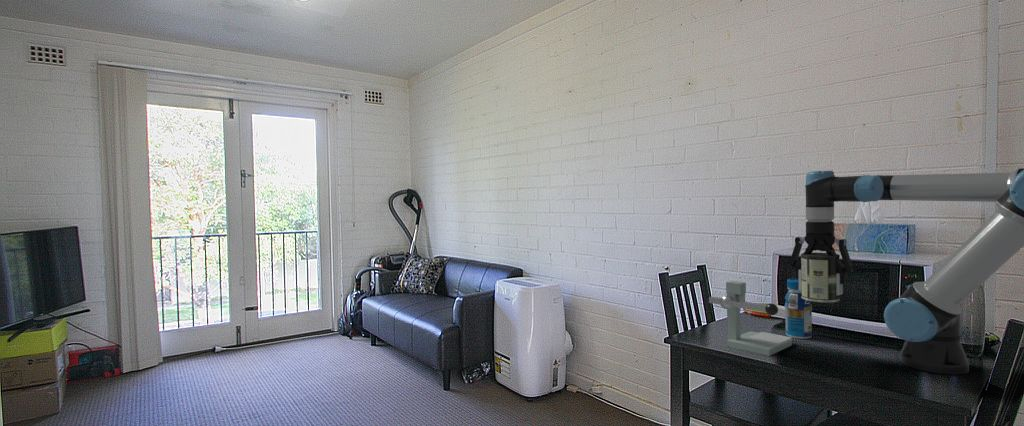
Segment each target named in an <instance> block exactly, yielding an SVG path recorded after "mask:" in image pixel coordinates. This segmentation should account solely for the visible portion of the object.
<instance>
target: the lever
mask: <svg viewBox="0 0 1024 426" xmlns="http://www.w3.org/2000/svg"><path fill="white" fill-rule="evenodd" d="M708 303H709V304H715V305H720V307H722V308H721V309H724V310H727V309H729V308H732V307H738V308H740V309H745V310H751V311H756V312H763V313H766V314H767V315H769V316H775V315H777V314H778V312H779V307H778V306H777V304H775V303H768V304H762V303H756V302H749V301H745V302H744V301H737V300H734V299H733V298H732V297H731V296H727V295H726V296H723V297H716V296H710V297H708Z"/></svg>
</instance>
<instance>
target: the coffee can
mask: <svg viewBox="0 0 1024 426" xmlns="http://www.w3.org/2000/svg"><path fill="white" fill-rule="evenodd" d="M803 253H804V252H803ZM803 253H802V252H801V253H800V258H801V270H802V299H804V300H808V301H811V302H815V303H824V304H825V303H826V304H827V303H831V304H832V303H839V302H840V301H841V298H840V295H836V274H837V273H839V271H838V269H837V268H836V259H837V260H838V259H840V258H841V254H838V253H836V254H837V255H836V256H829V255H828V254H827V253H826V252H814V251H813V252H812V253H811V254H808V255H806V254H803Z"/></svg>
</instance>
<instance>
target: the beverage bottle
mask: <svg viewBox="0 0 1024 426" xmlns="http://www.w3.org/2000/svg"><path fill="white" fill-rule="evenodd" d="M786 288H787V290H788V291H787V292H786V294H785V297H784V300H785V303H784V309H785V311H784V313H785V336H787V337H792V339H793V338H794V339H799V340H801V339H802V340H804V339H806V340H807V339H810V338H812V336H813V326H812V325H813V324H812V322H813V317H812V316H813V314H812V313H813V305H812V304H811V303H812V301H808V300H804V299H802V290H799V279H796V277H794V278H788V279H787V280H786Z"/></svg>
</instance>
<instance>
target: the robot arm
mask: <svg viewBox="0 0 1024 426" xmlns="http://www.w3.org/2000/svg"><path fill="white" fill-rule="evenodd" d="M804 187H805V220H807V221H806V222H805V236H803V237H802V236H797V237H795V238H794V247H793V250H792V253H791V257H790V260H789V263H788V266H789V267H791V268H794V269H795V278H796V279H799V290H802V270H801V257H800V255H801V250H802V247H803V244H804V243H806V244H807V247H806V248H805V251H804V252H803V254H806V255H808V254H811V253H813V252H814V251H820V252H825V253H827V254H828V255H829V256H836V255H837V254H838V253H837V252H836V250H835V248H834V247H833V245H834V244H836V246H838V251H839V253H840V257H841V258H842V260H841V259H840V258H839V259H838V260H837V259H836V268H837V269H838V271H839V273H837V274H836V295H843V292H844V289H843V288H844V287H843V285H846V283H847V273H850V272H854V269H855V268H854V265H853V263H852V260H851V257H850V254H849V251H848V247H847V239H846V238H836V237H835V222H834V221H833V220H835V202H848V203H850V202H853V203H857V202H861V203H869V202H878V201H920V202H921V201H922V202H923V201H925V202H927V201H929V202H930V201H931V202H932V201H933V202H979V203H980V202H982V203H984V202H987V203H988V202H989V203H991V202H994V203H995V202H996V207H997V209H996V211H995V212H994V213H993V214H992V215H991V216H990V217H989V218H988V219H987V220H986V221H985V222H984V223H983V224H982V225H980V227H979V228H978V229H977V230H975V232H974V233H973V234H972V235H970V237H968V239H966V241H965V242H963V244H962V245H961V246H960V247H958V248H957V249H956V250H955V251H954V252H953V254H951V256H949V257H948V259H946V260H945V261H944V262H943V263H942V264H941V265H940V266H939V267H938V268H937V269H936V271H934V272H933V273H932V274H930V276H929V277H927V279H926V280H925V281H915V282H913V283H912V284H909V285H907V289H906V290H905V291H904V292H903V293H902V294H901V295H900V296H899V297H898V298H896V299H893V300H891V301H890V302H889V303H888V304H887V305H886V307H885V308H884V311H883V318H884V319H883V320H884V323H885V325H886V327H887V328H888V330H889V331H890V332H891V333H892V334H894V335H895V336H896V337H898V338H899V339H902V340H903V341H904V343H903V346H902V348H901V351H900V352H899V359H900V362H901V363H902V364H903V365H905V366H906V367H909V368H913V369H914V370H919V371H923V372H928V373H934V374H940V375H941V374H942V375H952V376H953V375H955V376H956V375H957V376H958V375H965V374H968V373H969V372H970V362H969V360H968V357H967V355H966V352H965V350H964V347H963V345H962V341H961V336H962V335H961V332H962V331H961V330H962V329H961V323H962V322H961V320H962V317H961V313H962V310H961V309H962V308H961V306H962V303H963V301H965V300H966V299H967V298H968V297H969V296H970V295H972V294H973V293H974V292H975V291H976V290H977V289H978V288H979V287H980V286H981V285H983V284H984V283H985V282H986V281H987V280H988V279H989V278H990V277H991V276H993V275H994V274H995V273H996V272H997V271H998V270H999V269H1000V268H1001V267H1003V265H1004V264H1006V263H1007V262H1008V261H1009V260H1010V259H1011V258H1012V257H1014V255H1016V254H1017V253H1018V252H1019V251H1020V250H1021V249H1023V248H1024V167H1021V168H1020V167H1019V168H1017V169H1015V170H1013V171H1011V172H980V173H978V172H977V173H937V174H935V173H932V174H930V173H929V174H927V173H926V174H896V175H891V174H890V175H889V174H887V175H886V174H885V175H884V174H883V175H882V174H881V175H880V174H877V175H869V174H867V175H866V174H865V175H864V174H863V175H850V176H836V175H835V172H834V171H833V170H815V171H812V170H811V171H808V172H807V173H806V175H805V185H804ZM799 257H800V258H799Z"/></svg>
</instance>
